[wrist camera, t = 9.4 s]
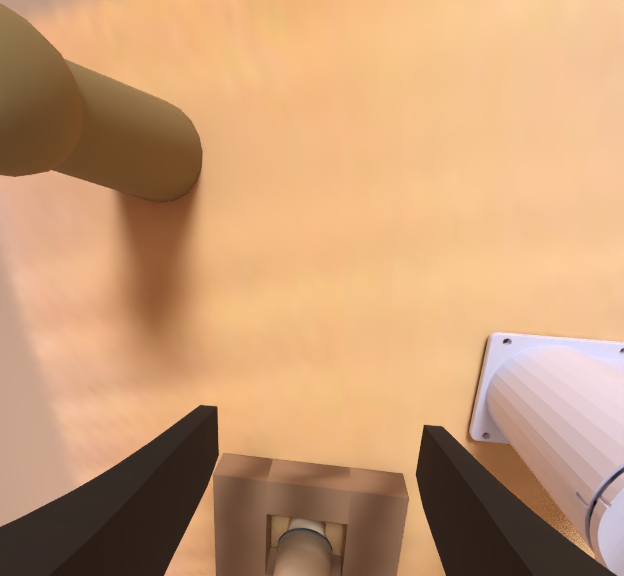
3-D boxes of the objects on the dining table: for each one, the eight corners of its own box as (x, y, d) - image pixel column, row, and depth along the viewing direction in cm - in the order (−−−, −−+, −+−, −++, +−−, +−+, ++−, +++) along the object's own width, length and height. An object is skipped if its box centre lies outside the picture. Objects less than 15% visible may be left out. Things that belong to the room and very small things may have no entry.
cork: (172, 221, 20) (-27, 224, 9) (94, 163, 19) (-213, 94, 8) (220, 140, 18) (52, 28, 7) (137, 76, 18) (-166, -138, 7)
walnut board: (402, 473, 22) (408, 497, 21) (385, 589, 25) (389, 620, 23) (223, 453, 23) (213, 474, 22) (225, 566, 26) (216, 594, 24)
